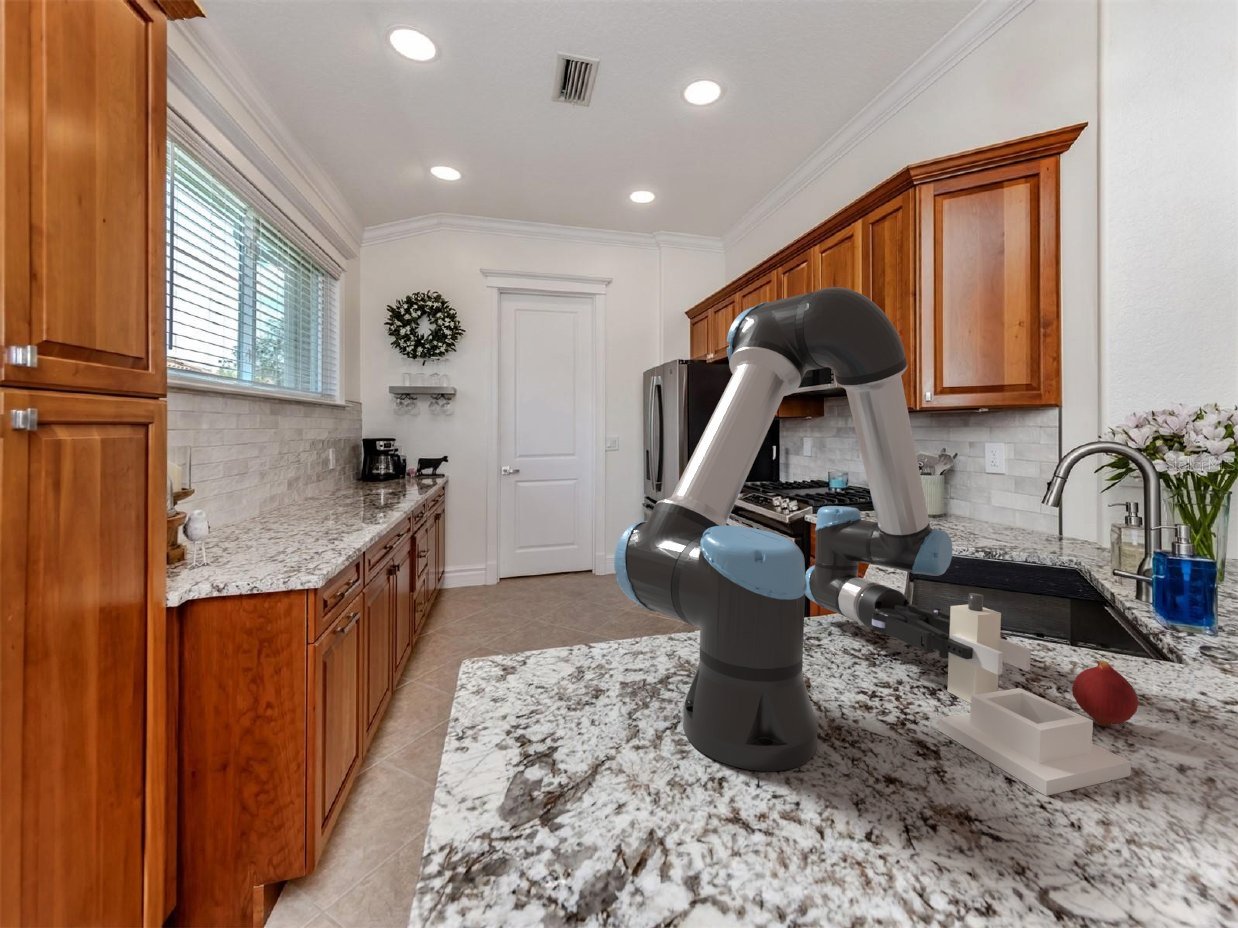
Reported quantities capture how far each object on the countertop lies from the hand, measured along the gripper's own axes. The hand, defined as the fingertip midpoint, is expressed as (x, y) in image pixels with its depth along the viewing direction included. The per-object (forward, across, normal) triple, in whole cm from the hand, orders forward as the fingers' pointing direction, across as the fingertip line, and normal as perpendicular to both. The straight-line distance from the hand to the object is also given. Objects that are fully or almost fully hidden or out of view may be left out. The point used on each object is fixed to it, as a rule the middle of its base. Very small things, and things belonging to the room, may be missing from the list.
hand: (1014, 661), depth 65 cm
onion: (+4, -9, -7) cm, 12 cm away
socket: (+6, +6, -7) cm, 11 cm away
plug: (-5, 0, -7) cm, 9 cm away
